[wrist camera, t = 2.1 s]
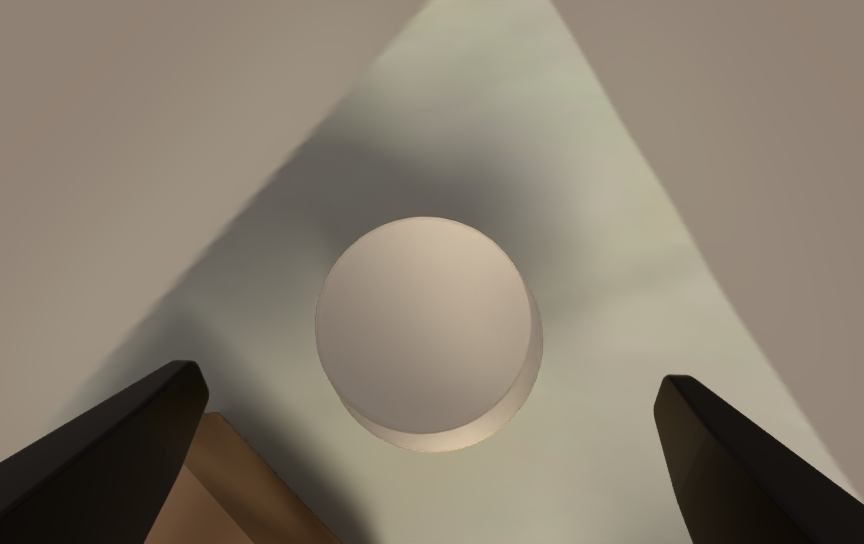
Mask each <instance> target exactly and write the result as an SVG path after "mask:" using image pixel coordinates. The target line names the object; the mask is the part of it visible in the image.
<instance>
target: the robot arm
mask: <svg viewBox="0 0 864 544" xmlns="http://www.w3.org/2000/svg"><path fill="white" fill-rule="evenodd" d="M208 399H209V390H208V387H207V384H206V382H205V380H204V377H203V375H202V372H201V370H200V368H199V366H198V364H197V363H196V362H195V361H189V360H175V361H171V362H170V363H168V364H166V365H164V366H163V367H161V368H159V369H158V370H156V371H154V372H153V373H151V374H149V375H147V376H146V377H144V378H142V379H141V380H139V381H137V382H136V383H134V384H132V385H131V386H129V387H127V388H125V389H124V390H122V391H120V392H119V393H117V394H115V395H114V396H112V397H110V398H109V399H107V400H105V401H103V402H102V403H100V404H98V405H97V406H95V407H93V408H92V409H90V410H88V411H87V412H85V413H83V414H81V415H80V416H78V417H76V418H75V419H73V420H71V421H70V422H68V423H66V424H64V425H63V426H61V427H59V428H58V429H56V430H54V431H53V432H51V433H49V434H48V435H46V436H44V437H42V438H41V439H39V440H37V441H36V442H34V443H32V444H31V445H29V446H27V447H26V448H24V449H22V450H20V451H19V452H17V453H15V454H14V455H12V456H10V457H9V458H7V459H5V460H3V461H2V462H0V544H144V542H145V540H146V538H147V536H148V534H149V533H150V531H151V529H152V527H153V525H154V523H155V521H156V519H157V517H158V515H159V513H160V511H161V509H162V507H163V505H164V503H165V501H166V499H167V497H168V495H169V493H170V491H171V489H172V487H173V485H174V483H175V481H176V479H177V477H178V475H179V473H180V470H181V468H182V466H183V464H184V461H185V459H186V456H187V454H188V451H189V448H190V446H191V443H192V441H193V438H194V436H195V433H196V431H197V428H198V426H199V423H200V420H201V418H202V415H203V413H204V410H205V408H206V405H207V403H208ZM654 418H655V422H656V426H657V430H658V434H659V437H660V441H661V445H662V448H663V452H664V456H665V460H666V463H667V467H668V471H669V475H670V478H671V482H672V486H673V489H674V493H675V496H676V499H677V502H678V505H679V508H680V511H681V513H682V516H683V519H684V521H685V524H686V526H687V529H688V532H689V534H690V537H691V539H692V542H693V544H864V504H862V503H861V502H860V501H858V500H857V499H856V498H854V497H853V496H852V495H850V494H849V493H848V492H846V491H845V490H844V489H842V488H841V487H840V486H838V485H837V484H836V483H834V482H833V481H831V480H830V479H829V478H827V477H826V476H825V475H823V474H822V473H821V472H819V471H818V470H817V469H815V468H814V467H813V466H811V465H810V464H809V463H807V462H806V461H805V460H803V459H802V458H801V457H799V456H798V455H797V454H795V453H794V452H793V451H791V450H790V449H789V448H787V447H786V446H785V445H783V444H782V443H781V442H779V441H778V440H777V439H775V438H774V437H773V436H771V435H770V434H769V433H767V432H766V431H765V430H763V429H762V428H761V427H759V426H758V425H757V424H755V423H754V422H753V421H751V420H750V419H749V418H747V417H746V416H744V415H743V414H742V413H740V412H739V411H738V410H736V409H735V408H734V407H732V406H731V405H730V404H728V403H727V402H726V401H724V400H723V399H722V398H720V397H719V396H718V395H716V394H715V393H714V392H712V391H711V390H710V389H708V388H707V387H706V386H704V385H703V384H702V383H700V382H699V381H698V380H696V379H695V378H693V377H692V376H689V375H672V374H670V375H666V376H665V377H664V378H663V380H662V383H661V386H660V389H659V392H658V395H657V398H656V401H655V404H654Z"/></svg>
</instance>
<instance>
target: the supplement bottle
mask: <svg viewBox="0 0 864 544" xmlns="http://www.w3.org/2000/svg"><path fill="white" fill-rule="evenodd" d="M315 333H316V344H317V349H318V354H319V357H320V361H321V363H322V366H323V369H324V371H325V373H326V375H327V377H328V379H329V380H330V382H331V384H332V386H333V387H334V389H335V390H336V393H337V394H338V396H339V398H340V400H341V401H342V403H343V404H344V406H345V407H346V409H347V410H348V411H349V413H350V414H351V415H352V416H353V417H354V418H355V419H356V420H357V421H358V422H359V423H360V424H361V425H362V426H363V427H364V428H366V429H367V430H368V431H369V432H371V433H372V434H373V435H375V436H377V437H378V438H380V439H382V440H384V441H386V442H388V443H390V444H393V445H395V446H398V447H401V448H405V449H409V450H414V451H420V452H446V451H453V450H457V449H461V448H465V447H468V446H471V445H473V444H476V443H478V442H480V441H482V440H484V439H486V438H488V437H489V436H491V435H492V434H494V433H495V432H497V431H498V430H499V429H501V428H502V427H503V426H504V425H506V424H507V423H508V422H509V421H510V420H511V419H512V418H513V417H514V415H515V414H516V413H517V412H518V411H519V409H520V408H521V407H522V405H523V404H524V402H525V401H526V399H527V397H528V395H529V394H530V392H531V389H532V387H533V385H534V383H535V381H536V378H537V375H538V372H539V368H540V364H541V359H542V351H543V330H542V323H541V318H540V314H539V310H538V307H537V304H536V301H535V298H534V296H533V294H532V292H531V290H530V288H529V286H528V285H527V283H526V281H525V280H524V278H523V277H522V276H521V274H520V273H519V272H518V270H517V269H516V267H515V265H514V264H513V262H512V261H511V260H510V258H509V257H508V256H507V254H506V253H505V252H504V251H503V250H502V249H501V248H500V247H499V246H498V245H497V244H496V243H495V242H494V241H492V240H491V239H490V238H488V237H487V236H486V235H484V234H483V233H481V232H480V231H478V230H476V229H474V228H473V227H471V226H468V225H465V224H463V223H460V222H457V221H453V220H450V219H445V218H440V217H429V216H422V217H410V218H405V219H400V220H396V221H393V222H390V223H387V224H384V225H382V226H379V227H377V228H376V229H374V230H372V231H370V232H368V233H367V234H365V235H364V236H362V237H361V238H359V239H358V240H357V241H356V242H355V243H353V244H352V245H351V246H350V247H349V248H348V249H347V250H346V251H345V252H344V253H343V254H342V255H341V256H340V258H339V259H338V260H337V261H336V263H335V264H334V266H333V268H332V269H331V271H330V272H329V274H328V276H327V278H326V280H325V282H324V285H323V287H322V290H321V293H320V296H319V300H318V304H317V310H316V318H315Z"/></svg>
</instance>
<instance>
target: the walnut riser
mask: <svg viewBox="0 0 864 544" xmlns="http://www.w3.org/2000/svg"><path fill="white" fill-rule="evenodd" d="M144 544H341V542H340V541H339V540H338V539H337V538H336V537H335V536H334V535H333V534H332V533H331V532H330V531H329V530H328V529H327V528H326V527H325V525H324V524H323V523H322V522H321V521H320V520H319V519H318V518H317V517H316V516H315V515H314V514H313V513H312V512H311V511H310V510H309V508H308V507H307V506H306V505H305V504H304V503H303V502H302V501H301V500H300V499H299V498H298V497H297V496H296V495H295V494H294V493H293V492H292V490H291V489H290V488H289V487H288V486H287V485H286V484H285V483H284V482H283V481H282V480H281V479H280V478H279V477H278V476H277V475H276V473H275V472H274V471H273V470H272V469H271V468H270V467H269V466H268V465H267V464H266V463H265V462H264V461H263V460H262V459H261V458H260V456H259V455H258V454H257V453H256V452H255V451H254V450H253V449H252V448H251V447H250V446H249V445H248V444H247V443H246V442H245V441H244V440H243V438H242V437H241V436H240V435H239V434H238V433H237V432H236V431H235V430H234V429H233V428H232V427H231V426H230V425H229V424H228V423H227V421H226V420H225V419H224V418H223V417H222V416H221V415H220V414H219V413H218V412H213V413H205V414H203V415H202V418H201V420H200V423H199V426H198V428H197V431H196V433H195V436H194V438H193V441H192V443H191V446H190V448H189V451H188V454H187V456H186V459H185V461H184V464H183V466H182V468H181V470H180V473H179V475H178V477H177V479H176V481H175V483H174V485H173V487H172V489H171V491H170V493H169V495H168V497H167V499H166V501H165V503H164V505H163V507H162V509H161V511H160V513H159V515H158V517H157V519H156V521H155V523H154V525H153V527H152V529H151V531H150V533H149V534H148V536H147V538H146V540H145V542H144Z"/></svg>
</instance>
